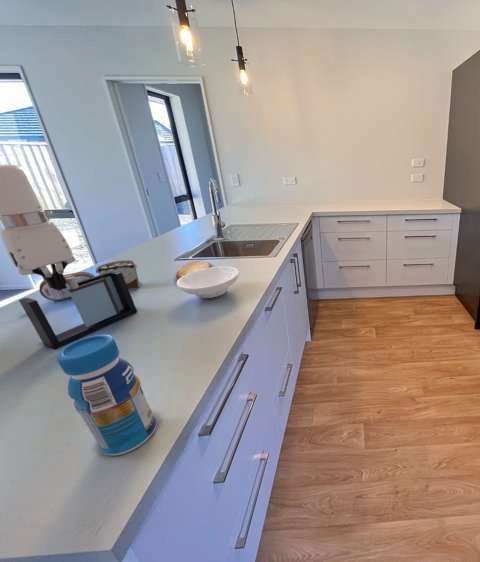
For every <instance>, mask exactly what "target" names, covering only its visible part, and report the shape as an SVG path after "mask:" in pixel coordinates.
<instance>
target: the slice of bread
mask: <svg viewBox="0 0 480 562" xmlns="http://www.w3.org/2000/svg"><path fill="white" fill-rule="evenodd" d="M211 267H212V266H211V264H210V263H209V262H208V261H204V260H190V261H188V262H187V263H185V264H183V265H181V266H180V267H179V269H178V270H177V271H176V274H175V278H176V281H178V280H179V279H180V278H181V277H182V276H184V275H186V274H188V273H191V272H194V271H197V270H201V269H205V268H211Z"/></svg>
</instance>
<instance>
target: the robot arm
mask: <svg viewBox="0 0 480 562" xmlns="http://www.w3.org/2000/svg"><path fill="white" fill-rule="evenodd" d="M51 217H55V213H54V212H53V211H52V210H50V211H48V210H46V209H44V207H43V205H42V203H41V201H40V199H39V196H38V195H37V192H36V190H35V188H34V186H33V184H32V182H31V179H30V177H29V175H28V173H27V172H26V170H25V169H24V168H23V167H22V166H20V165H16V164H0V222H1V224H2V225H3V227H4V228H0V236H1V239H2V242H3V244H4V245H3V246H4V247H5V250H6V252H7V255H8V257H9V259H10V261H11V263H12V264H13V266H14V267H15V268H17V270H18V274H19V275H23V276H27V275H28V276H29V275H38V276H41V277H44V280H45V279H46V281H47V283H48V285H49V286H50V288H53V289H55V290H59V291H60V290H62V289H66V288H67V287H66V285H65V284H67V282H66V280H65V278H64V276H63V275H64V273H65V269H66V267H67V266H68V265H71V264H72V263H74V262H76V258H75V257H74V254H73V251H72V248H71V247H70V244H69V243H68V242H67V239H66V237H65V236H64V234H63V233H62V232H61V231H60V229H59V228H58V226H57V225H56V224H55V222H53V221H51V219H50V218H51ZM49 265H50V269H51V271H52V272H51V271H50V269H49V268H48V267H47V266H49Z"/></svg>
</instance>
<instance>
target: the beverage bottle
mask: <svg viewBox="0 0 480 562" xmlns="http://www.w3.org/2000/svg"><path fill="white" fill-rule="evenodd" d="M56 360H57V363H58V364H59V366H60V368H61V370H62V372H63V373H64V374H65V375H66V376H68V377H69V379H68V383H67V384H68V385H67V394H68V397H69V398H70V399H72V400H74V401H73V406H74V408H75V411H76V412H77V413H78V414H79V415H80V417H81V418H82V420H83V422H84V423H85V425H86V426H87V428H88V430H89V432H90V433H91V435H92V436H93V438H94V440H95V441H96V444H97V446H98V447H99V449H100V451H101V452H102V453H103V454H104V455H106V456H121V455H125V454H127V453H129V452H132V451H134V450H136V449H137V448H139V447H140V446H142V445H143V444H144V443H146V442H147V441H148V439H150V438H151V437H152V436H153V434H154V433H155V431H156V429H157V424H158V423H157V419H156V417H155V415H154V413H153V411H152V409H151V407H150V404H149V402H148V399H147V397H146V394H145V392H144V390H143V388H142V385H141V381H140V378H139V377H138V375H137V374H136V373H135V372H134V371H135V370H134V367H133V366H132V364H131V363H130V362H129V361H127V360H125V359H124V358H122V357H120V350H119V348H118V344H117V343H116V341H115V339H114V337H113V336H111V335H109V334H96V335H95V334H94V335H90V336H87V337H86V336H85V337H82V338H79V339H77V340H75V341H73V342H70V343H68V344H66V345H65V346H64V347H63V348H61V349H60V350H59V351H58V352H57V354H56Z"/></svg>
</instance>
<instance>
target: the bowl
mask: <svg viewBox="0 0 480 562" xmlns="http://www.w3.org/2000/svg"><path fill="white" fill-rule="evenodd" d="M238 278H239V270H238V269H237V268H235V267H231V266H211V268H205V269H201V270H197V271H194V272H191V273H188V274H186V275H184V276H182V277H181V278H180V279H179V280H176V286H177V287H178V288H179V289H180V290H181V291H182V292H184V293H185V294H188V295H195V296H196V297H198V298H200V299H213V298H218V297H219V296H222V295H224V294H225V293H227V292H228V290H229V288H230V287H231V286H233V285H234V284H235V283H236V282H237V280H238Z"/></svg>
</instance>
